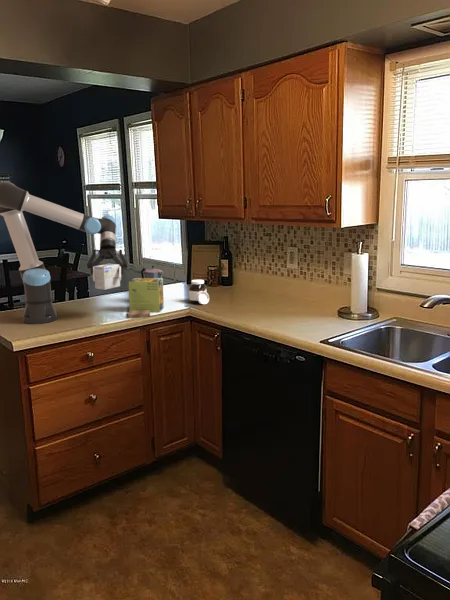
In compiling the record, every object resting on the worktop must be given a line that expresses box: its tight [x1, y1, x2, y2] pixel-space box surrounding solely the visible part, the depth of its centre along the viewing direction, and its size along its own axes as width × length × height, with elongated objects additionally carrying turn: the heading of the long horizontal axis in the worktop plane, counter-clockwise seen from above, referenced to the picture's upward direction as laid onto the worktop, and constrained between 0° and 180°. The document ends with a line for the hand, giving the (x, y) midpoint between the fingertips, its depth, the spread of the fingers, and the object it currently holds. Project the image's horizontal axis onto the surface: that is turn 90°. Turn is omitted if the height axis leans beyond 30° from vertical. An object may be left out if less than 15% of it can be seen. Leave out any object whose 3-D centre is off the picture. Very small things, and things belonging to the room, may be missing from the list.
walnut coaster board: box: [128, 310, 151, 319], centre depth 254 cm, size 10×8×2 cm
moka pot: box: [140, 265, 164, 278], centre depth 280 cm, size 10×15×20 cm, turn 60°
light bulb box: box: [94, 263, 121, 291], centre depth 249 cm, size 11×7×11 cm, turn 148°
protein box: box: [128, 277, 165, 313], centre depth 264 cm, size 10×15×16 cm
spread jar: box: [188, 279, 210, 305], centre depth 279 cm, size 12×11×12 cm
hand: (107, 279), depth 247 cm, fingers closed on light bulb box, 11 cm apart
